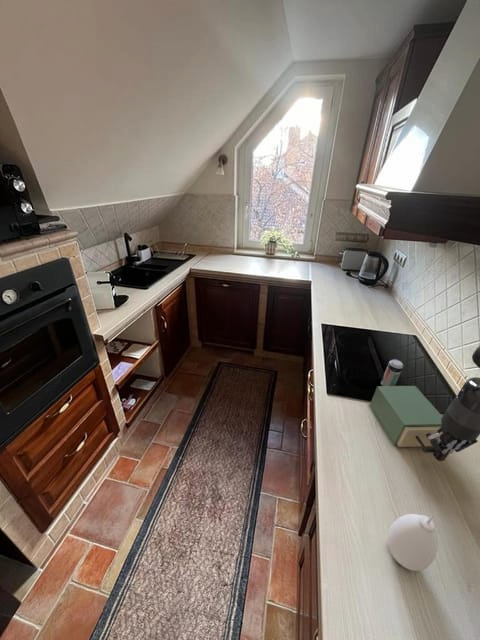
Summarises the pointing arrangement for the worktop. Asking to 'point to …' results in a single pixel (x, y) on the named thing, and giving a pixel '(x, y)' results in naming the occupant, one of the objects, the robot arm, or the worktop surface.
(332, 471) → the worktop surface
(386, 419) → the cabinet
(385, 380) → the beer can
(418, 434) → the drawer
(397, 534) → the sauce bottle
